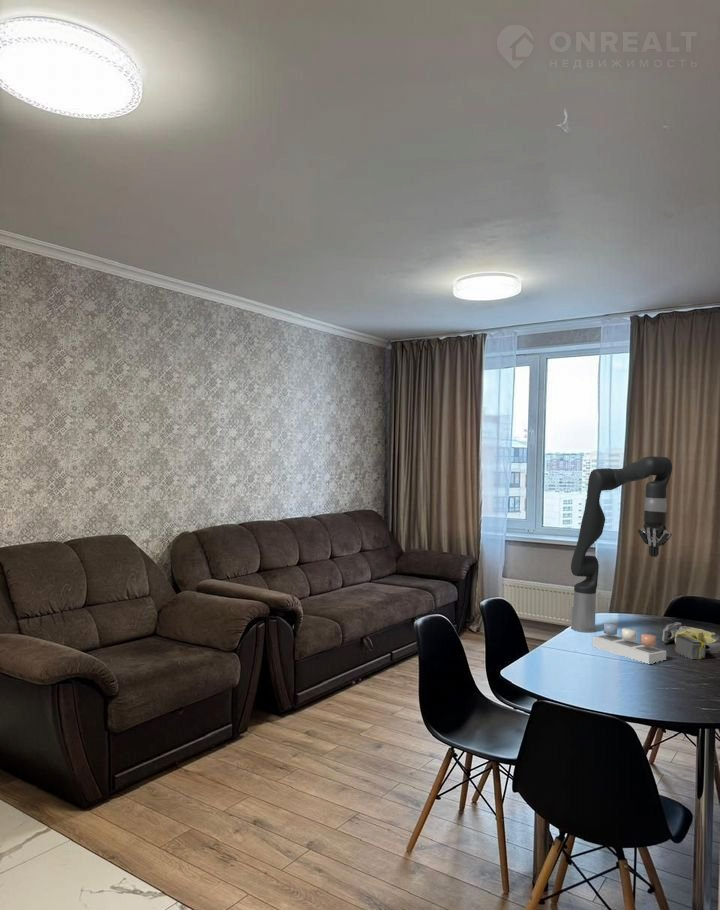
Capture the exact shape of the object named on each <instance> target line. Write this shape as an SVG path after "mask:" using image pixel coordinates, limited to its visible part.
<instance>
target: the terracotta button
mask: <svg viewBox="0 0 720 910" xmlns="http://www.w3.org/2000/svg"><path fill="white" fill-rule="evenodd" d="M640 639H641V640H640V643H641V645H644V646H648V647H655V648H656V646H657V636H656V635H655V634H651V633H642V634H641V637H640Z"/></svg>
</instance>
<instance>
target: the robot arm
mask: <svg viewBox="0 0 720 910" xmlns="http://www.w3.org/2000/svg"><path fill="white" fill-rule="evenodd" d="M672 472H673V463H672V461H671V460H670V458H668V457H667V456H656V455H655V456H653V455H651V456H650V455H649V456H646V457H643V458H640V459H639V461H634V462H630V463H629V464H627V465H625V466H623V467H622V468H609V467H607V468H604V467H603V468H595V469H592V470H591V472H590V474H589V476H588V477H589V478H588V483H587V491H586V493H587V494H586V499H585V505H584V511H583V514H582V518H581V523H580V528H579V533H578V537H577V542H576V546H575V549H574V550H573V551H574V552H573V555H572V558H571V563H570V564H571V565H570V570H571V573H572V575H573V576H575V577H583V578H585V579H584V580H581V582H577V583H575V584H574V586H573V587H574V589H573V606H571V614H570V615H571V616H570V617H571V619H570V629H571V630H573V631H574V632H577V633H584V634H590V633H591V634H592V633H595V632H596V630H595V629H596V609H597V608H596V607H597V606H596V605H597V604H596V603H597V588H598V579H599V569H600V568H599V566H600V564H599V561H598V560H599V559H598V558H597V556H595V555H587V552H588V550H589V549H590V548H591V546H593V544H594V543H596V541H598V540H599V539H600V538H601V536H602V534H603V531H604V527H605V525H606V524H605V523H606V516H605V513H604V511H603V508H602V506H601V502H600V499H601V495H602V491H612V490H614V489H617V488H619V487H621V486H623V485H625V484H628V483H631V482H635V481H640V480H644V479H647V478H649V477H650V476H655V479H654V480H652V481H649V482H647V483H646V484H645V499H644V507H643V509H644V511H643V522H644V524H643V527H642V528H641V529H638V530H637V533H638V534H639V537H640V538H641V539H642V541H643V543H644V544H645V545H647V546H648V554H649V557H653V558H657V557H658V556H659V553H660V552H659V549H660V547H662V546H663V547H664V546H665V545H666V543H667V542H668V541H669V540H670V539H671V537H672V535H673V534H672V533H671V532H668V531H667V527H666V523H667V509H668V508H667V505H668V504H667V488H668V484H669V481H670V478H671V475H672Z"/></svg>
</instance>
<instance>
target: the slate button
mask: <svg viewBox="0 0 720 910" xmlns="http://www.w3.org/2000/svg"><path fill="white" fill-rule="evenodd" d="M603 633H604V635H607V634H608V635H615V636H618V624H616V623H613V622H605V623H604V624H603Z"/></svg>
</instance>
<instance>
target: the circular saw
mask: <svg viewBox="0 0 720 910" xmlns="http://www.w3.org/2000/svg"><path fill="white" fill-rule="evenodd" d="M673 640H674V644H675V648H674V651H675V653H676V652H677V653H676V654H678V653H679V654H678V655H680V654H681V656H682V655H684V656H685V658H686V657H688V658H687V659H689V658H690V659H689V660H691V659H703V658H704V659H705V657H706V653H716V652H720V635H718V634H717V633H715V632H711V631H708V630H704V629H703V628H697V627H696V628H695V627H691V626H686V625H684V626H682V622H678V621H676V622H673V623H669V624H666V625H665V627H664V628H663V630H662V636H661V641H662V642H663V643H664V644H665V643H666V645H668V644H670V643H671V642H672V641H673ZM670 641H671V642H670ZM684 656H683V657H684Z"/></svg>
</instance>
